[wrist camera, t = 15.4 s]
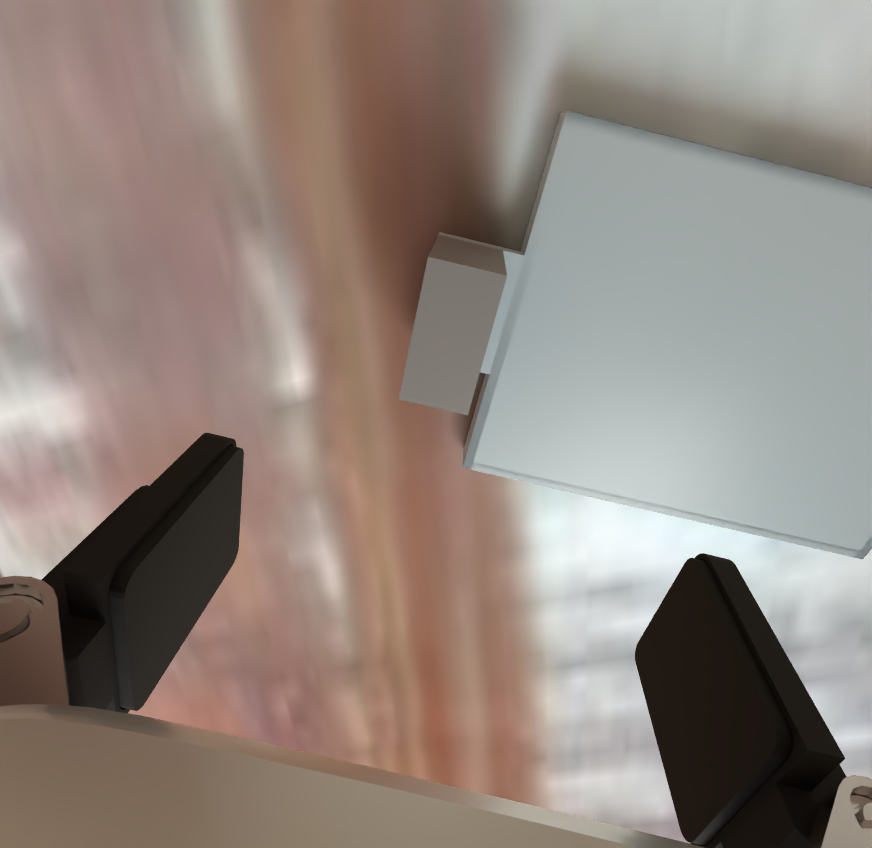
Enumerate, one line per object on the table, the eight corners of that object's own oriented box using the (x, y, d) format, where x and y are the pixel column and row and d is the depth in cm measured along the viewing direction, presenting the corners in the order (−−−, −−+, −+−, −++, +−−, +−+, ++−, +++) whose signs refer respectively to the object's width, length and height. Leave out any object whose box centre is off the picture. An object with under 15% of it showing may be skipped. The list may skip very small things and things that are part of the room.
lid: (842, 536, 32) (926, 629, 26) (397, 434, 31) (376, 506, 25) (1069, 241, 24) (1271, 277, 18) (470, 89, 23) (466, 72, 17)
